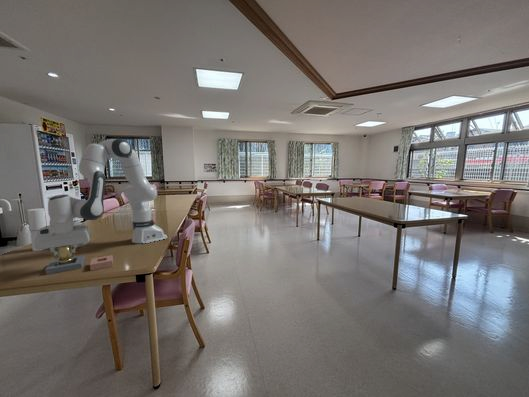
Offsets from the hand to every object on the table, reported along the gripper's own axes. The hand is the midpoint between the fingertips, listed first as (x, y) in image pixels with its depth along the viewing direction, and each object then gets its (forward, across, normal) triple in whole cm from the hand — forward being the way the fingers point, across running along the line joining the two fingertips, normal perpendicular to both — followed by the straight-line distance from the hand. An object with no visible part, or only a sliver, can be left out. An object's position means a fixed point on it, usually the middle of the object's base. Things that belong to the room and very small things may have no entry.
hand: (65, 254), depth 111 cm
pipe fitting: (+4, 0, 0) cm, 4 cm away
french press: (+7, +1, -39) cm, 40 cm away
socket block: (+7, 0, 0) cm, 7 cm away
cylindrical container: (+7, +18, -42) cm, 46 cm away
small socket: (+7, -15, +8) cm, 18 cm away
